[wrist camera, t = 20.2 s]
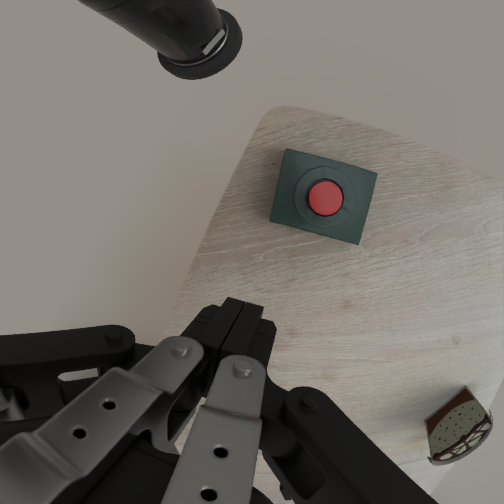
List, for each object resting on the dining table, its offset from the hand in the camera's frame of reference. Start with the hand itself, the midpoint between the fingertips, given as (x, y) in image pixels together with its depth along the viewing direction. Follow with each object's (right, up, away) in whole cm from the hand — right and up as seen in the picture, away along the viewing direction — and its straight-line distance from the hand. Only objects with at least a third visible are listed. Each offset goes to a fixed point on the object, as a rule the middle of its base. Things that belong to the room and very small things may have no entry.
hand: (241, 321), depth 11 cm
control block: (+8, +9, +19) cm, 23 cm away
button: (+8, +8, +16) cm, 19 cm away
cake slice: (+36, -25, +22) cm, 49 cm away
